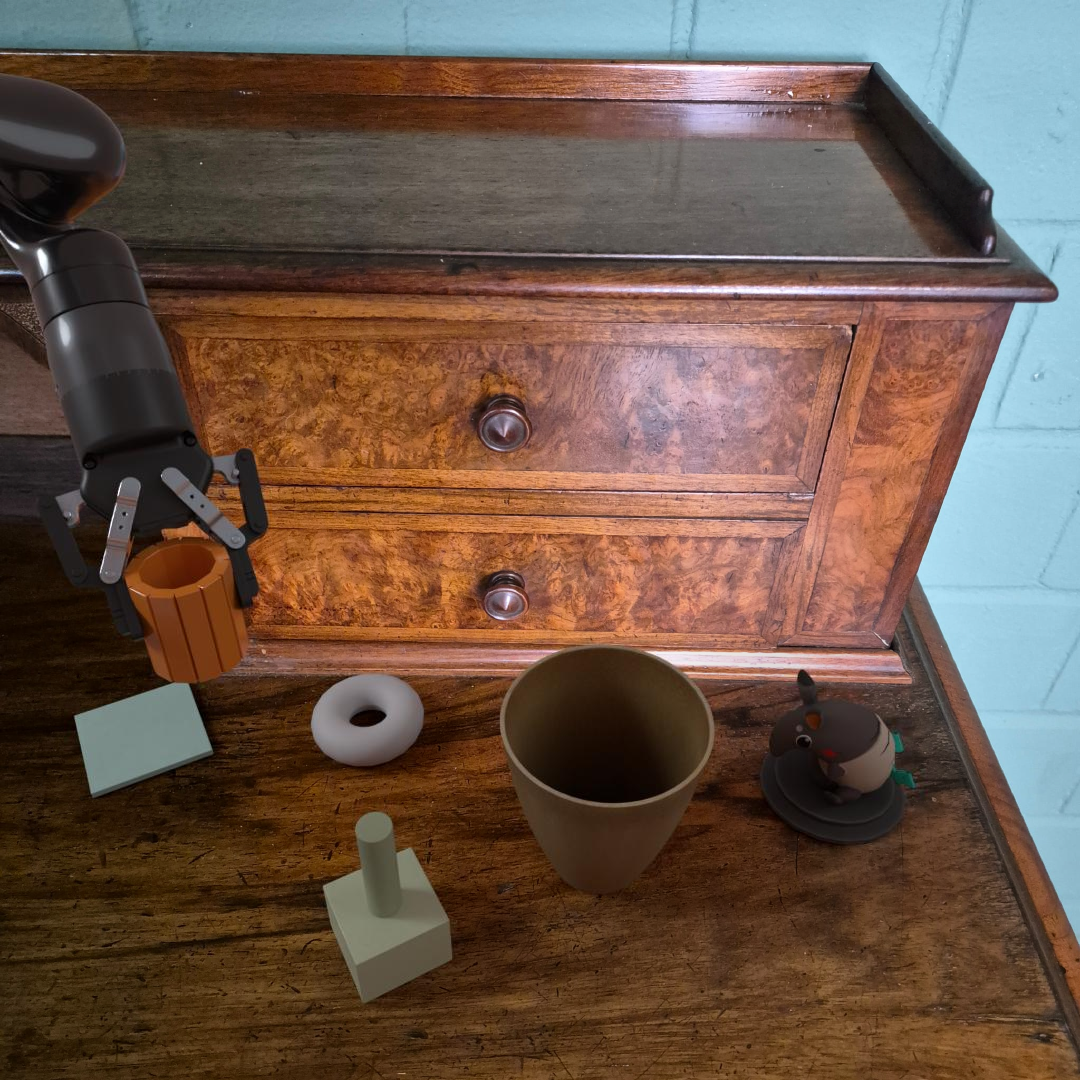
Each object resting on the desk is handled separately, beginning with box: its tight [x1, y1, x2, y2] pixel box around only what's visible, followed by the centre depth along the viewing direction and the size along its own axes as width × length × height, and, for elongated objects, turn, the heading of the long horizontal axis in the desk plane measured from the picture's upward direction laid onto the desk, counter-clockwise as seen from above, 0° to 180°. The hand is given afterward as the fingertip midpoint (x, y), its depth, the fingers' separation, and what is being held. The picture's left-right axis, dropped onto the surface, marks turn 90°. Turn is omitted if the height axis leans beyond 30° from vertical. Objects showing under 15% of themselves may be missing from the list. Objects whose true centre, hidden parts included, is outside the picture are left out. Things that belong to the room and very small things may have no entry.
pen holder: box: [124, 536, 250, 684], centre depth 64 cm, size 6×6×8 cm
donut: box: [310, 673, 425, 767], centre depth 85 cm, size 10×4×10 cm
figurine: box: [758, 669, 916, 845], centre depth 77 cm, size 11×12×12 cm
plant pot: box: [499, 643, 715, 895], centre depth 71 cm, size 15×15×16 cm
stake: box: [322, 811, 453, 1005], centre depth 65 cm, size 7×7×14 cm
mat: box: [73, 682, 214, 799], centre depth 85 cm, size 10×10×1 cm
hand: (194, 622), depth 62 cm, fingers closed on pen holder, 6 cm apart
